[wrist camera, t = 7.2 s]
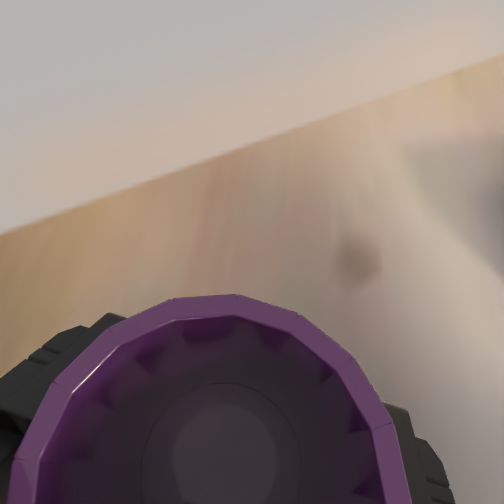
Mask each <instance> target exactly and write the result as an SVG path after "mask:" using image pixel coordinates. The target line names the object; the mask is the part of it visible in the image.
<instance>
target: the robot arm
mask: <svg viewBox="0 0 504 504" xmlns="http://www.w3.org/2000/svg"><path fill="white" fill-rule="evenodd" d="M125 319H127V318H125V317H122V316H119V315H116V314H113V313H107V314H106V315H104V316H103V317H102V318H101V319H100V320H98V321H97V322H96V323H95V324H94V325H93V326H91V327H90V328H87V327H84V326H81V325H80V326H77V327H74V328H72V329H69V330H66V331H63V332H61V333H58V334H57V335H56V336H54V337H53V338H52V339H51V340H49V341H48V342H47V343H45V344H44V345H43V346H42V348H41V349H40V348H39V349H38V350H36V351H35V352H34V353H33V354H31V355H30V356H29V358H28V359H25V360H23V361H22V362H21V363H20V364H18V365H17V366H16V367H14V368H13V369H12V370H11V371H9V372H8V373H7V374H5V375H4V376H3V377H2V378H0V504H6V498H7V491H8V485H9V478H10V471H11V464H12V461H13V460H14V455H15V453H16V451H17V449H18V447H19V445H20V443H21V441H22V439H23V437H24V435H25V433H26V431H27V429H28V427H29V425H30V424H31V422H32V420H33V418H34V416H35V414H36V412H37V410H38V408H39V406H40V404H41V402H42V400H43V398H44V396H45V394H46V392H47V390H48V389H49V387H50V385H51V383H53V382H54V379H55V378H56V377H57V376H58V375H59V374H60V373H61V372H62V371H63V370H64V369H65V368H67V367H68V366H69V365H70V364H71V363H72V362H73V361H74V360H75V359H76V358H77V357H78V356H79V355H80V354H81V353H82V352H83V351H84V350H85V349H86V348H87V347H88V346H89V345H90V344H91V343H92V342H93V341H94V340H95V339H96V338H98V337H99V336H100V335H101V334H102V333H103V332H104V331H105V330H106V329H109V327H110V326H112V325H114V324H116V323H119V322H121V321H123V320H125ZM382 403H383V402H382ZM383 405H384V406H385V408H386V410H387V411H388V413H389V415H390V416H391V418H392V420H393V422H392V423H394V425H395V428H396V433H397V437H398V442H399V446H400V451H401V455H402V460H403V464H404V469H405V473H406V478H407V482H408V487H409V491H410V496H411V500H412V504H455V501H454V498H453V494H452V491H451V489H449V482H448V479H447V476H446V473H445V470H444V467H443V464H442V462H441V461H440V459H439V458H438V456H437V455H436V454H435V452H434V451H433V449H432V448H431V447H430V445H429V444H428V442H427V441H425V440H422V439H419V438H416V437H415V435H414V432H413V428H412V424H411V421H410V417H409V414H408V412H407V410H405V409H402V408H399V407H396V406H393V405H390V404H386V403H383Z"/></svg>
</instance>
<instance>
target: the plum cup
mask: <svg viewBox="0 0 504 504" xmlns="http://www.w3.org/2000/svg"><path fill="white" fill-rule="evenodd" d="M352 357H353V356H352V355H351V354H350V353H349V352H348V351H346V350H345V349H344V348H342V347H341V346H340V345H339V344H337V343H336V342H335V341H334V340H332V339H331V338H330V337H329V336H327V335H326V334H325V333H324V332H322V331H321V330H320V329H318V328H317V327H316V326H315V325H313V324H312V323H311V322H310V321H308V320H307V319H306V318H305V317H303V316H302V315H298V313H297V312H293V311H290V310H287V309H284V308H281V307H277V306H274V305H271V304H268V303H265V302H261V301H258V300H255V299H252V298H249V297H246V296H242V295H236V294H227V295H213V296H198V297H183V298H173V299H172V300H171V299H169V300H167V301H165V302H162V303H160V304H158V305H156V306H154V307H152V308H149V309H147V310H145V311H143V312H141V313H138V314H136V315H134V316H132V317H130V318H127V319H125V320H123V321H121V322H119V323H116V324H114V325H112V326H110V327H109V329H106V330H105V331H104V332H103V333H102V334H101V335H100V336H99V337H98V338H96V339H95V340H94V341H93V342H92V343H91V344H90V345H89V346H88V347H87V348H86V349H85V350H84V351H83V352H82V353H81V354H80V355H79V356H78V357H77V358H76V359H75V360H74V361H73V362H72V363H71V364H70V365H69V366H68V367H67V368H65V369H64V370H63V371H62V372H61V373H60V374H59V375H58V376H57V377H56V378H55V379H54V382H53V383H51V385H50V387H49V389H48V390H47V392H46V394H45V396H44V398H43V400H42V402H41V404H40V406H39V408H38V410H37V412H36V414H35V416H34V418H33V420H32V422H31V424H30V425H29V427H28V429H27V431H26V433H25V435H24V437H23V439H22V441H21V443H20V445H19V447H18V449H17V451H16V453H15V455H14V460H13V461H12V464H11V471H10V478H9V485H8V491H7V498H6V504H412V500H411V496H410V491H409V487H408V482H407V478H406V473H405V469H404V464H403V460H402V455H401V451H400V446H399V442H398V437H397V433H396V428H395V425H394V423H392V422H393V420H392V418H391V416H390V415H389V413H388V411H387V410H386V408H385V406H384V405H383V403H382V402H381V400H380V398H379V397H378V395H377V393H376V392H375V390H374V389H373V387H372V385H371V384H370V382H369V380H368V379H367V377H366V376H365V374H364V372H363V371H362V369H361V367H360V366H359V364H358V363H357V361H356V359H355V358H352Z"/></svg>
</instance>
